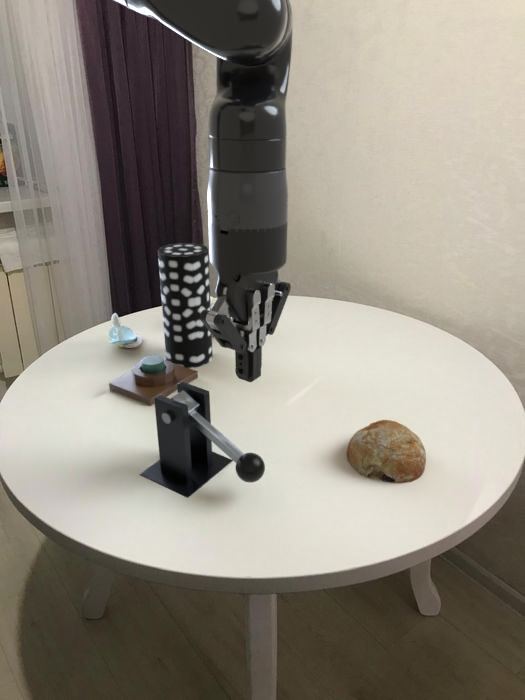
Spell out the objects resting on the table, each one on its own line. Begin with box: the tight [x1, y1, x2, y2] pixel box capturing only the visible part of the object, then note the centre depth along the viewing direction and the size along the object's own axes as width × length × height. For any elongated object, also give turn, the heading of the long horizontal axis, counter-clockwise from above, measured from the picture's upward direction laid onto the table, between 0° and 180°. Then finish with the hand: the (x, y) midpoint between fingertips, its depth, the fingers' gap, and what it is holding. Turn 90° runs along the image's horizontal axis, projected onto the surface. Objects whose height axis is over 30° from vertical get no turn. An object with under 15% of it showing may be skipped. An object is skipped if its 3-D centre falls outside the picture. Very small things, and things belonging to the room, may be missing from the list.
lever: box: [170, 390, 266, 484], centre depth 70 cm, size 14×3×3 cm, turn 56°
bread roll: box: [345, 419, 427, 484], centre depth 76 cm, size 10×10×8 cm
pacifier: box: [108, 312, 143, 349], centre depth 110 cm, size 7×6×6 cm
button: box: [140, 354, 165, 374], centre depth 94 cm, size 4×4×2 cm
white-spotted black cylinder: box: [157, 242, 214, 369], centre depth 102 cm, size 8×8×20 cm
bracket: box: [139, 382, 234, 499], centre depth 73 cm, size 8×9×12 cm
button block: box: [108, 358, 199, 407], centre depth 95 cm, size 11×9×4 cm
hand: (248, 377), depth 63 cm, fingers closed
